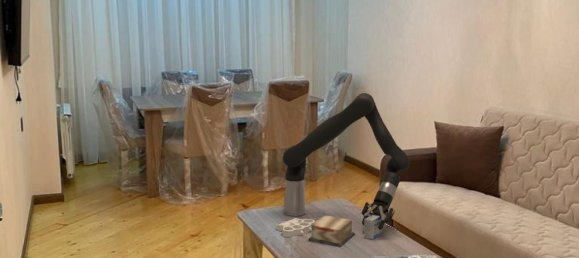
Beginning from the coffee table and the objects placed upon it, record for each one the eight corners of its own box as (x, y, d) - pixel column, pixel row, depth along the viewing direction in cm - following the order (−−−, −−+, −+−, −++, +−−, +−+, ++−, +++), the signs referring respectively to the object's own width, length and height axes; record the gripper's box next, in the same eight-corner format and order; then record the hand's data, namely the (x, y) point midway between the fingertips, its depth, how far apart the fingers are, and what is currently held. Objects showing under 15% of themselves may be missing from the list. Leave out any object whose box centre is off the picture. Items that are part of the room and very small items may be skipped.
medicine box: (373, 240, 250) (373, 220, 248) (364, 237, 253) (364, 218, 251) (381, 234, 256) (382, 215, 254) (372, 232, 259) (373, 213, 257)
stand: (308, 240, 250) (308, 225, 249) (323, 229, 263) (323, 214, 262) (340, 247, 243) (340, 231, 242) (354, 234, 256) (354, 219, 254)
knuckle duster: (298, 221, 274) (321, 229, 264) (270, 232, 262) (293, 241, 251) (298, 214, 273) (321, 222, 263) (270, 225, 261) (293, 233, 251)
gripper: (368, 187, 260) (354, 219, 254) (397, 193, 252) (382, 226, 245) (374, 195, 266) (360, 227, 259) (402, 201, 257) (388, 234, 250)
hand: (371, 226), depth 252 cm, fingers open, 7 cm apart
